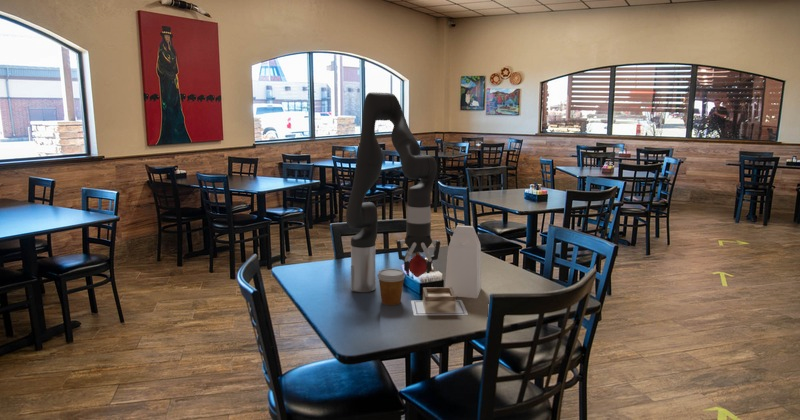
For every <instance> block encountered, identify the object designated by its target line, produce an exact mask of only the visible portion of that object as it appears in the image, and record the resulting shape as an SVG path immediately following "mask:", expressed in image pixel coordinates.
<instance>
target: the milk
mask: <svg viewBox="0 0 800 420" xmlns="http://www.w3.org/2000/svg"><path fill="white" fill-rule="evenodd" d="M481 247H482V246H481V242H480V240H479V237H478V234H477V232H476V229H475V227H474V226H473V225H456V227H455V229H454V230H453V234H452V237H451V239H450V242H449V244H448V247H447V254H446V255H447V257H446V268H445V269H446V270H445V282H444V283H445V285H444V287H452V289H453V292H454V294H455V296H456V297H459V298H470V299H478V297H479V295H480V292H481V290H482V261H481V260H482V257H481V256H482V249H481Z"/></svg>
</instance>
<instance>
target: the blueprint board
mask: <svg viewBox="0 0 800 420" xmlns="http://www.w3.org/2000/svg"><path fill="white" fill-rule="evenodd" d="M410 303H411V309H412V313H413V316H468V315H469V313H468V311H467V309H466V306H465V304H464V302H463V299H456V308H455V313H425V309H424V305H423V300H410Z"/></svg>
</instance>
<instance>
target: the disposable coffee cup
mask: <svg viewBox="0 0 800 420" xmlns="http://www.w3.org/2000/svg"><path fill="white" fill-rule="evenodd" d="M404 272H405V271H404V270H402V269H399V268H385V269H381V270H379V272H378V274H377V278H378V280H379V281H378V282H379V289H380V290H379V291H380V296H381V297H380V298H381V303H382V304H383V305H386V306H396V305H400V304H401V301H402V293H403V286H404V280H405V277H406V275H405V273H404Z"/></svg>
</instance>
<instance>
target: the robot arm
mask: <svg viewBox="0 0 800 420" xmlns="http://www.w3.org/2000/svg"><path fill="white" fill-rule="evenodd" d="M361 119H362V121H361V132H360V138H359V146H358V151H357V155H356V156H357V157H356V160H355V161H356V162H355V170H354V176H353V182H352V188H351V191H350V195H349V199H348V202H347V206H346V211H345V220H346V224H347V226H348V227H349V228H350V229H361V230H360V231H359V232H358V233H356V234H355V235H353V236H351V238H350V291H351V292H357V293H369V292H373V291H375V290H376V288H377V287H376V284H377V281H376V278H377V277H376V273H377V272H376V241H377V237H378V236H377V235H378V219H379V213H378V209H377V206H376V204H375V203H374V202H371V201H368V202H367V201H366V202H364V201H365V197H366V195H367V193H368V192H369V191H370V189H371V188H372V187H373V186H374V184H376V182H377V181H378V180H379V177H380V176H381V173H382V169H383V163H384V154H383V150H382V148H381V146H380V143H379V141H378V139H377V136H376V129H375V128H376V122H377V121H390V123H392V125H393V128H392V131H391V138H390V139H391V142H392V145H393V147H394V149H395V151H396V152H397V155H398V156H399V159H400V164H401V170H402V174H403V175H404V176H405V177H406V178H408V179H410V180H420V181H419V182H418V183H417V184H416V185H413V186H410V187H409V188H408V189H407V208H406V216H405V218H406V225H405V226H406V227H405V228H406V232H405V233H406V236H405V237H404V239H396V248H397V256H398V259H399V260H400V261H401V260H402V261H403V269H404V270H403V271H404V272H406V274H409V272H410V270H409V261H410V259H411V256H412V255H413V253H415V254H416V252H417V253H422V254H423V253H424V255H425V257H426V263H427V270H426V271H425V272H426V274H430V272H432V265H433V264H432V263H433V261H437V260H438V259H439V252H440V247H441V240H440V239H432V237H431V230H432V229H431V228H432V223H431V221H432V209H431V198H432V197H431V195H432V190H433V186H434V182H435V178H436V177H437V172H438V164H437V160H436V159H435V158H434V156H432V155H429V154H423V155H420V153H421V150H422V149H421V146H420V144H419V143H418V141H417V139H416V137H415V136H414V134H413V133H412V131H411V130H410V127H409V124H408V123H407V120H406V117H405V115H404V112H403V109H402V106H401V103H400V101H399V99H398V97H397V95H395V94H393V93H390V92H377V91H375V92H372V91H371V92H369V93H367V94H366V96H365V98H364V101H363V108H362V118H361ZM404 244H406V246H407V248H408V249H407V251H406V253H405V255H403V252H402V248H403V247H404ZM431 244H432V246H433V247H434V249H433V254H432V255H431V254H430V252H429V249H428V248H429V247H430V246H431Z"/></svg>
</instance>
